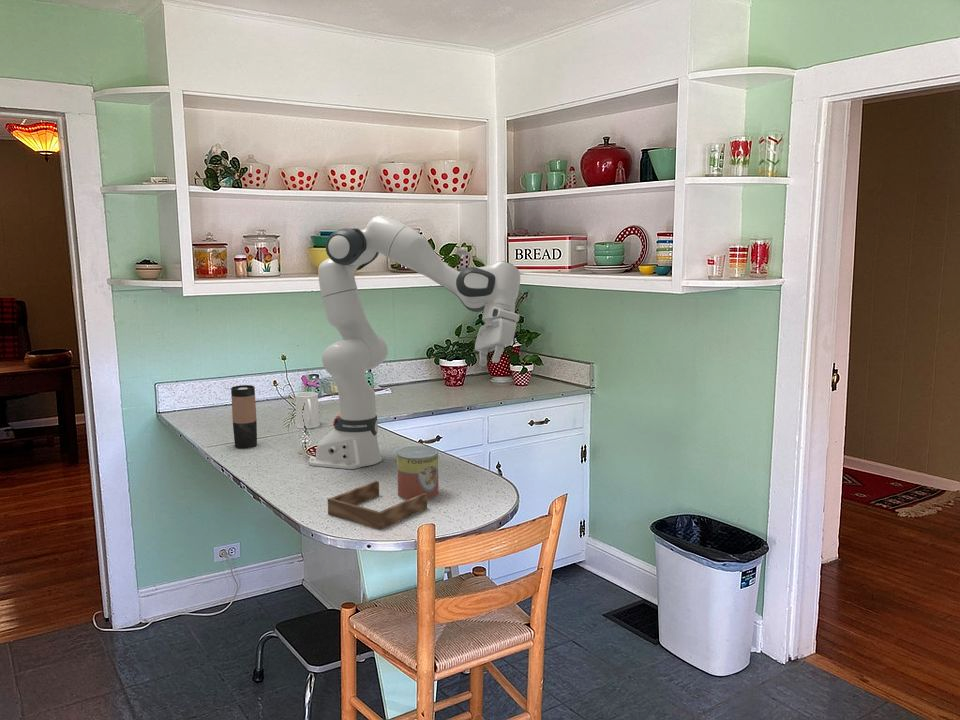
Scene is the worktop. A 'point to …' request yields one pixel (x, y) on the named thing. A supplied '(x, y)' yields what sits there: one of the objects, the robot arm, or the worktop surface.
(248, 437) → the travel mug
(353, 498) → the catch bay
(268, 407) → the worktop surface
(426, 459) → the canned food
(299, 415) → the mug
